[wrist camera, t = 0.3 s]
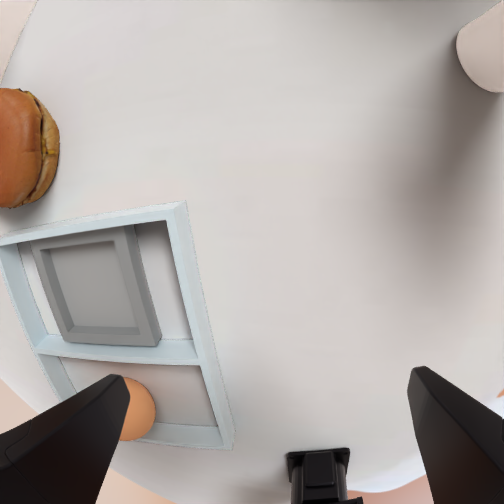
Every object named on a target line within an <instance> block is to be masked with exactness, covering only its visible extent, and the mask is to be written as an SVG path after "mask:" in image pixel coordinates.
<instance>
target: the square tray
mask: <svg viewBox="0 0 504 504" xmlns="http://www.w3.org/2000/svg"><path fill="white" fill-rule="evenodd" d="M29 242H30V246H31V250H32V253H33V257H34V260H35V263H36V267H37V270H38V273H39V276H40V279H41V282H42V285H43V288H44V291H45V294H46V297H47V300H48V302H49V305H50V308H51V310H52V313H53V316H54V318H55V321H56V323H57V326H58V328H59V331H60V333H61V335H62V338H63V340H64V341H65V342H78V343H92V344H109V345H132V346H156V345H157V343H158V342H159V340H160V338H161V337H162V333H161V330H160V327H159V323H158V320H157V316H156V313H155V309H154V306H153V302H152V299H151V295H150V291H149V287H148V284H147V280H146V276H145V272H144V268H143V264H142V260H141V255H140V251H139V247H138V243H137V238H136V234H135V229H134V224H130V225H123V226H116V227H110V228H103V229H96V230H90V231H83V232H77V233H71V234H65V235H58V236H53V237H47V238H41V239H35V240H29Z"/></svg>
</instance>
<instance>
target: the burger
mask: <svg viewBox="0 0 504 504" xmlns="http://www.w3.org/2000/svg"><path fill="white" fill-rule="evenodd" d="M59 145H60V143H59V130H58V127H57V125H56V123H55V121H54V120H53V118H52V116H51V115H50V113H49V112H48V110H47V109H46V108H45V107H44V105H43V104H42V103H41V102H40V101H39V100H38V99H37V98H36V97H35V96H33V95H32V94H31V93H30V92H29V91H22V90H20V88H19V89H9V88H0V207H8V208H12V207H13V208H16V207H19V206H21V205H23V204H26V203H30V202H34V201H36V200H38V199H39V198H40V197H42V196H43V194H44V193H45V191H46V190H47V189H48V187H49V185H50V183H51V182H52V180H53V177H54V175H55V171H56V168H57V162H58V155H59Z"/></svg>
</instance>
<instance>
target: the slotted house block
mask: <svg viewBox="0 0 504 504" xmlns="http://www.w3.org/2000/svg"><path fill="white" fill-rule="evenodd" d="M37 1H38V0H0V85H1V82H2V79H3V76H4V73H5V71H6V68H7V65H8V63H9V60H10V58H11V55H12V53H13V51H14V48H15V46H16V44H17V41H18V39H19V37H20V35H21V32H22V30H23V28H24V26H25V24H26V22H27V20H28V18H29V16H30V14H31V12H32V10H33V8H34V6H35V5H36V3H37Z"/></svg>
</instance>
